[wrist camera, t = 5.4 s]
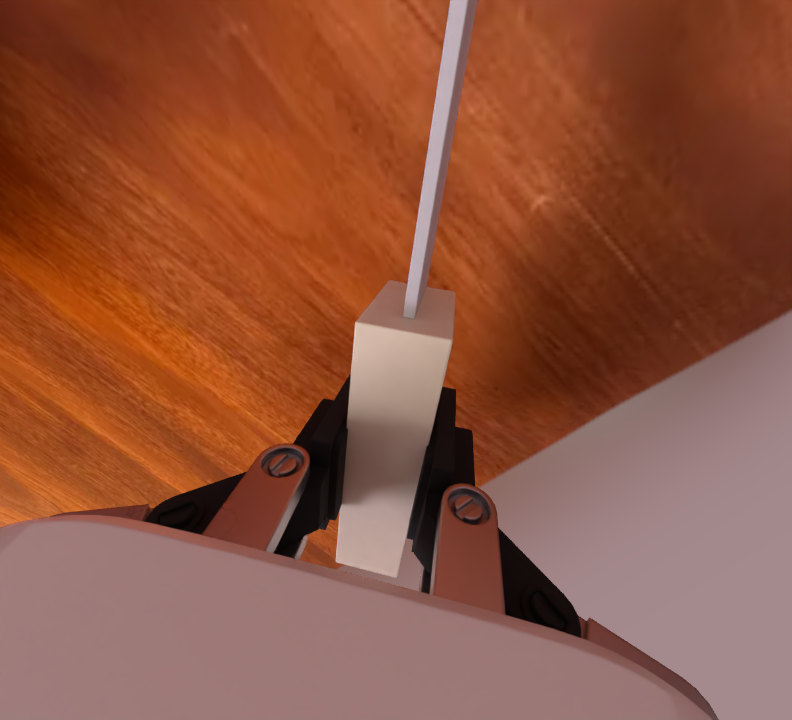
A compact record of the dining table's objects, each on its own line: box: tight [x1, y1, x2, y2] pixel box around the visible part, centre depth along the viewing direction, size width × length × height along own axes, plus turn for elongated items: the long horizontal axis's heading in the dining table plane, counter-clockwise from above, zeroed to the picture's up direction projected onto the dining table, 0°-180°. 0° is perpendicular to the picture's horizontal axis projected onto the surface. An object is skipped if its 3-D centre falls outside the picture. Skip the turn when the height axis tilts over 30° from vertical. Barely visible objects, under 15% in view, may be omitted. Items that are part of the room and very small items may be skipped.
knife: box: [336, 0, 478, 578], centre depth 9 cm, size 19×2×4 cm, turn 172°
